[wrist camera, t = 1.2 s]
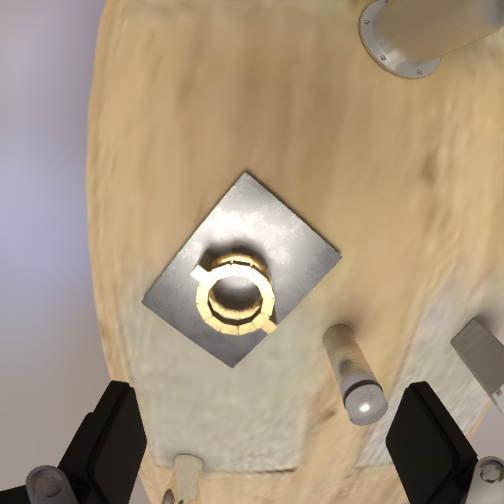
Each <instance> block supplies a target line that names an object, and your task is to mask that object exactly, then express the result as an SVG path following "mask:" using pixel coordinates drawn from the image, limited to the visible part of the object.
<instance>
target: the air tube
mask: <svg viewBox="0 0 504 504" xmlns="http://www.w3.org/2000/svg"><path fill="white" fill-rule="evenodd" d="M323 343H324V346H325V349H326V351H327V354H328V357H329V360H330V363H331V366H332V368H333V371H334V374H335V377H336V380H337V383H338V386H339V389H340V392H341V395H342V397H343V403H344V406H345V408H346V410H347V412H348V415H349V418H350V421H351V422H352V423H353V424H355V425H368V424H371V423H374V422H376V421H377V420H379V419H380V418H381V417H383V416H384V414H385V413H386V411H387V409H388V402H387V400H386V398H385V396H384V394H383V390H382V388H381V386H380V384H379V383H378V382H377V380H376V378H375V376H374V374H373V372H372V370H371V368H370V366H369V364H368V362H367V360H366V358H365V357H364V355H363V353H362V351H361V349H360V347H359V345H358V343H357V341H356V339H355V337H354V336H353V334H352V332H351V330H350V328H349V327H347V326H345V325H334V326H332V327H330V328H329V329H328V330H327V331H326V332H325V334H324V336H323Z"/></svg>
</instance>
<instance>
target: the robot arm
mask: <svg viewBox="0 0 504 504" xmlns="http://www.w3.org/2000/svg"><path fill="white" fill-rule="evenodd" d="M503 25H504V0H377V1H375V2H373V3H371V4H370V5H368V7H367V8H366V9H365V10H364V12H363V13H362V15H361V18H360V21H359V31H360V36H361V39H362V42H363V44H364V46H365V48H366V50H367V51H368V53H369V54H370V55H371V57H372V58H373V59H374V60H375V61H376V62H377V63H378V64H379V65H380V66H382V67H383V68H384V69H385V70H387V71H389V72H390V73H392V74H394V75H397V76H399V77H402V78H407V79H419V78H423V77H426V76H428V75H430V74H431V73H433V72H434V71H435V70H436V69H437V67H438V66H439V64H440V61H441V56H444V55H446V54H448V53H450V52H452V51H454V50H457V49H459V48H461V47H463V46H466V45H468V44H470V43H472V42H475V41H477V40H479V39H482V38H484V37H486V36H489V35H491V34H493V33H495V32H497V31H498V30H500V29H501V28H502V27H503ZM380 58H381V59H382V60H381V59H380ZM146 445H147V439H146V435H145V431H144V427H143V423H142V419H141V415H140V411H139V407H138V403H137V399H136V394H135V390H134V388H133V387H130V385H129V383H127V382H121V381H114V380H112V381H111V382H110V383H109V385H108V387H107V388H106V390H105V392H104V394H103V395H102V397H101V399H100V401H99V402H98V404H97V406H96V408H95V410H94V411H93V412H90V413H88V414H87V415H86V416H85V418H84V420H83V422H82V423H81V425H80V427H79V429H78V430H77V432H76V434H75V436H74V438H73V439H72V441H71V443H70V445H69V447H68V449H67V450H66V452H65V454H64V456H63V458H62V460H61V461H60V463H59V465H58V467H57V468H56V467H54V466H49V465H45V466H39V467H36V468H35V469H33V470H32V471H30V473H29V474H28V476H27V478H26V485H23V486H19V487H15V488H12V489H8V490H4V491H0V504H128V503H129V500H130V496H131V493H132V490H133V487H134V484H135V480H136V477H137V474H138V471H139V468H140V465H141V461H142V458H143V455H144V452H145V449H146ZM386 446H387V449H388V451H389V454H390V456H391V458H392V461H393V463H394V465H395V468H396V470H397V473H398V475H399V477H400V480H401V482H402V485H403V487H404V490H405V492H406V495H407V497H408V500H409V502H410V504H504V461H503V460H501V459H500V458H497V457H494V456H488V457H484V458H482V459H480V460H478V459H477V454H476V452H475V451H474V449H473V448H472V446H471V445H470V443H469V442H468V440H467V439H466V437H465V436H464V434H463V433H462V431H461V430H460V428H459V427H458V425H457V424H456V422H455V421H454V419H453V418H452V416H451V415H450V414H449V412H448V411H447V409H446V408H445V406H444V405H443V404H442V402H441V401H440V399H439V398H438V396H437V395H436V394H435V392H434V391H433V389H432V388H431V387H430V385H429V384H428V383H427V382H426V381H422V382H416V383H411V384H410V385H409V387H408V388H406V389H405V391H404V394H403V396H402V399H401V402H400V404H399V407H398V410H397V412H396V415H395V417H394V420H393V422H392V425H391V427H390V429H389V432H388V434H387V436H386Z"/></svg>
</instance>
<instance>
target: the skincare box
mask: <svg viewBox="0 0 504 504" xmlns="http://www.w3.org/2000/svg"><path fill="white" fill-rule="evenodd" d="M450 343H451V344H452V346H453V347H454V349H455V350H456V352H457V353H458V355H459V356H460V358H461V359H462V360H463V362H464V363H465V364H466V366H467V367H468V368H469V370H470V371H471V372H472V374H473V375H474V377H475V378H476V379H477V381H478V382H479V383H480V385H481V386H482V387H483V389H484V390H485V391H486V393H487V394H488V395H489V397H490V398H491V399H492V401H493V402H494V403H495V405H496V406H497V407H498V409H499V410H500V412H501V413H502V414H504V345H503V344H502V343H501V342H500V341H499V340H498V339H497V338H496V337H495V336H494V335H492V334H491V333H490V332H489V331H488V330H487V329H486V328H485V327H484V326H483V325H482V324H481V323H480V322H479V321H478V320H477V319H476V318H473V320H472V321H471V322H470V323H469V324H468V325H467V326H466V327H465V328H464V329H463V330H462V331H461V332H460V333H459V334H458V335H457V336H456V337H455V338H454V339H453V340H452V341H451V342H450Z"/></svg>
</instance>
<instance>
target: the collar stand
mask: <svg viewBox="0 0 504 504" xmlns="http://www.w3.org/2000/svg"><path fill="white" fill-rule="evenodd" d="M341 258H342V256H341V255H340V254H339V253H338V252H337V251H336V250H335V249H334V248H332V247H331V246H330V245H329V244H328V243H327V242H326V241H325V240H324V239H323V238H321V237H320V236H319V235H318V234H317V233H316V232H315V231H314V230H313V229H311V228H310V227H309V226H308V225H307V224H306V223H305V222H304V221H302V220H301V219H300V218H299V217H298V216H297V215H296V214H295V213H293V212H292V211H291V210H290V209H289V208H288V207H287V206H285V205H284V204H283V203H282V202H281V201H280V200H278V199H277V198H276V197H275V196H274V195H273V194H271V193H270V192H269V191H268V190H267V189H266V188H264V187H263V186H262V185H261V184H260V183H258V182H257V181H256V180H255V179H254V178H253V177H251V176H250V175H249V174H248V173H247V172H245V173H244V174H243V175H242V176H241V177H240V179H239V180H238V181H237V182H236V183H235V184H234V186H233V187H232V188H231V189H230V190H229V192H228V193H227V194H226V195H225V196H224V198H223V199H222V200H221V201H220V202H219V204H218V205H217V206H216V207H215V208H214V210H213V211H212V212H211V213H210V214H209V216H208V217H207V218H206V219H205V221H204V222H203V223H202V224H201V226H200V227H199V228H198V229H197V230H196V232H195V233H194V234H193V235H192V237H191V238H190V239H189V240H188V242H187V243H186V244H185V246H184V247H183V248H182V249H181V251H180V252H179V253H178V254H177V256H176V257H175V258H174V259H173V261H172V262H171V263H170V265H169V266H168V267H167V268H166V270H165V271H164V272H163V274H162V275H161V276H160V278H159V279H158V280H157V282H156V283H155V284H154V285H153V287H152V288H151V289H150V291H149V292H148V293H147V295H146V296H145V297H144V299H143V300H142V301H141V302H142V303H143V304H144V305H145V306H147V307H148V308H149V309H150V310H152V311H153V312H154V313H156V314H157V315H158V316H159V317H161V318H162V319H163V320H165V321H166V322H167V323H169V324H170V325H171V326H173V327H174V328H175V329H177V330H178V331H180V332H181V333H182V334H184V335H185V336H186V337H188V338H189V339H191V340H192V341H193V342H195V343H196V344H198V345H199V346H200V347H202V348H203V349H205V350H206V351H208V352H209V353H210V354H212V355H213V356H215V357H216V358H218V359H219V360H221V361H222V362H224V363H225V364H227V365H228V366H230V367H231V368H233V367H234V366H235V365H236V364H237V363H238V362H239V361H241V360H242V359H243V358H244V357H245V356H246V355H247V354H248V353H249V352H250V351H251V350H252V349H253V348H254V347H255V346H256V345H257V344H258V343H259V342H260V341H261V340H262V339H264V338H265V337H266V336H267V335H268V334H270V333H271V332H272V331H273V330H274V329H275V328H276V327H277V325H278V324H279V323H280V322H281V321H282V320H283V319H284V318H285V317H286V316H287V315H288V314H289V313H290V312H291V311H292V310H293V309H294V308H295V307H296V306H297V305H298V304H299V303H300V302H301V301H302V299H303V298H304V297H305V296H306V295H307V294H308V293H309V292H310V291H311V290H312V289H313V288H314V287H315V286H316V285H317V284H318V283H319V282H320V281H321V280H322V279H323V278H324V276H325V275H326V274H327V273H328V272H329V271H330V270H331V269H332V268H333V267H334V266H335V265H336V264H337V263H338V261H339V260H340V259H341Z"/></svg>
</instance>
